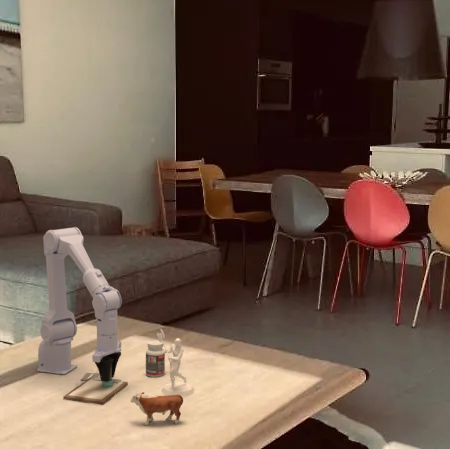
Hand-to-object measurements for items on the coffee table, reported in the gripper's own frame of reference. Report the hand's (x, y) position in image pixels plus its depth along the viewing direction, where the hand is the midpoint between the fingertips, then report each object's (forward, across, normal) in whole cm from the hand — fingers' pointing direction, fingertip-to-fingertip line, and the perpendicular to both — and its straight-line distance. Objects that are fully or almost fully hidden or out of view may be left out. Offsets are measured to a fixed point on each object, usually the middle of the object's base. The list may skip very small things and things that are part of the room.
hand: (107, 379), depth 214 cm
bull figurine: (+3, -17, -22) cm, 28 cm away
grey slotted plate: (+3, +7, +9) cm, 12 cm away
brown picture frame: (+3, -3, +2) cm, 5 cm away
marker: (+2, 0, 0) cm, 2 cm away
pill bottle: (+3, +16, -8) cm, 18 cm away
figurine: (+3, +6, -19) cm, 20 cm away
